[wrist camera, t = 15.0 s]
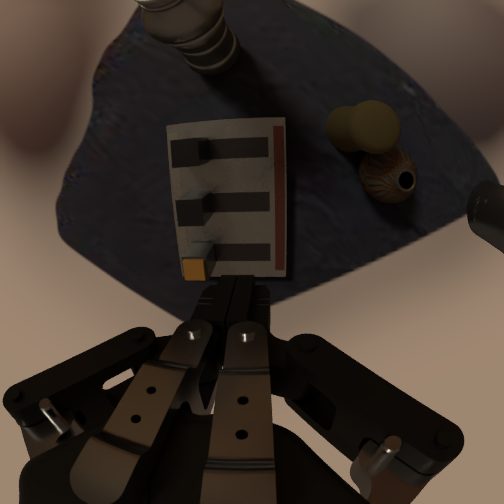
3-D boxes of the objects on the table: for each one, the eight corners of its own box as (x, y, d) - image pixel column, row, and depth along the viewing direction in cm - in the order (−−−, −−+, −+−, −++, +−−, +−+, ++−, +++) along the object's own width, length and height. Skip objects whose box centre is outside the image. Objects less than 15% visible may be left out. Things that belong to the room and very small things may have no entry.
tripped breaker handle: (213, 242, 35) (205, 258, 31) (215, 264, 36) (207, 282, 32) (191, 242, 35) (179, 258, 31) (193, 263, 37) (183, 282, 32)
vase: (372, 206, 34) (399, 226, 26) (342, 165, 32) (363, 173, 24) (409, 175, 32) (443, 187, 24) (380, 133, 30) (411, 133, 22)
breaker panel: (284, 118, 31) (287, 114, 25) (285, 269, 39) (287, 294, 33) (172, 126, 32) (151, 124, 26) (186, 269, 40) (172, 292, 34)
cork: (375, 148, 31) (415, 155, 21) (331, 156, 32) (357, 165, 22) (364, 102, 29) (401, 91, 19) (319, 110, 30) (340, 97, 20)
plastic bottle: (180, 64, 28) (92, 8, 10) (213, 25, 26) (157, -60, 8) (219, 88, 30) (156, 35, 11) (253, 48, 27) (231, -39, 9)
